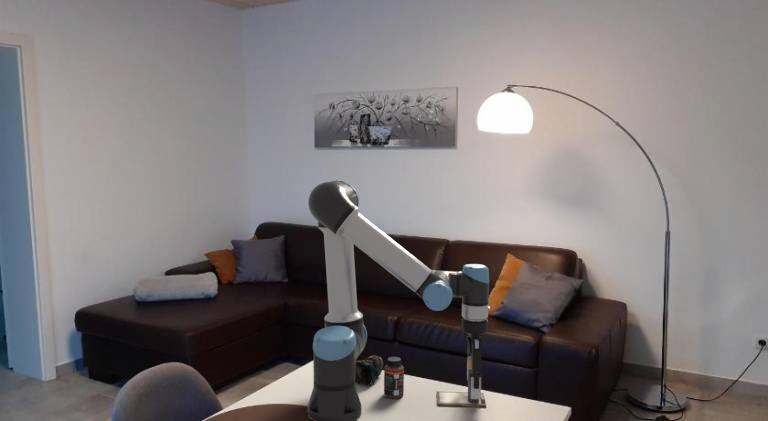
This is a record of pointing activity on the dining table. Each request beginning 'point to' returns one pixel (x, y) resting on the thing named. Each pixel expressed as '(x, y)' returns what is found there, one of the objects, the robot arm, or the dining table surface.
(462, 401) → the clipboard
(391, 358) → the supplement bottle
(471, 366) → the marker
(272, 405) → the dining table surface
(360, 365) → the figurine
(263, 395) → the dining table surface
